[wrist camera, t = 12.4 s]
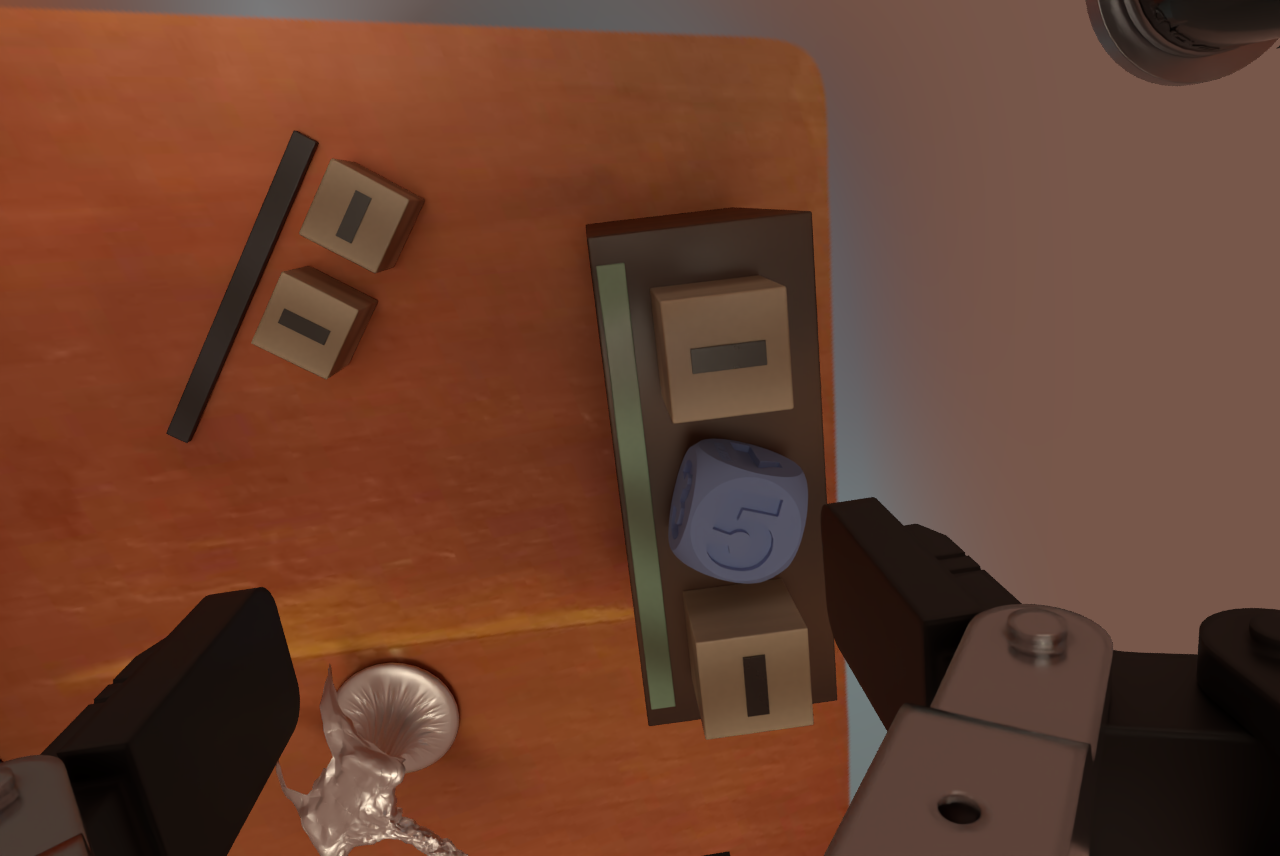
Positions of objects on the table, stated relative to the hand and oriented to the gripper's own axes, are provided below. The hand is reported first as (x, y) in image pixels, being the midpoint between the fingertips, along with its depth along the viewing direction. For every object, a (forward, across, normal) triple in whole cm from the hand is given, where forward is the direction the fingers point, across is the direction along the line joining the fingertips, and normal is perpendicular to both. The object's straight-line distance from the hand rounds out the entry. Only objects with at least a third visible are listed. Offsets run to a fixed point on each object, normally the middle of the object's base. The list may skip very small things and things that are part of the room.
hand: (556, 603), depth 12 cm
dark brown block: (+35, -5, +6) cm, 35 cm away
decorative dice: (+19, -5, +6) cm, 20 cm away
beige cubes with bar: (+35, +15, -1) cm, 38 cm away
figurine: (+35, +14, +24) cm, 45 cm away
